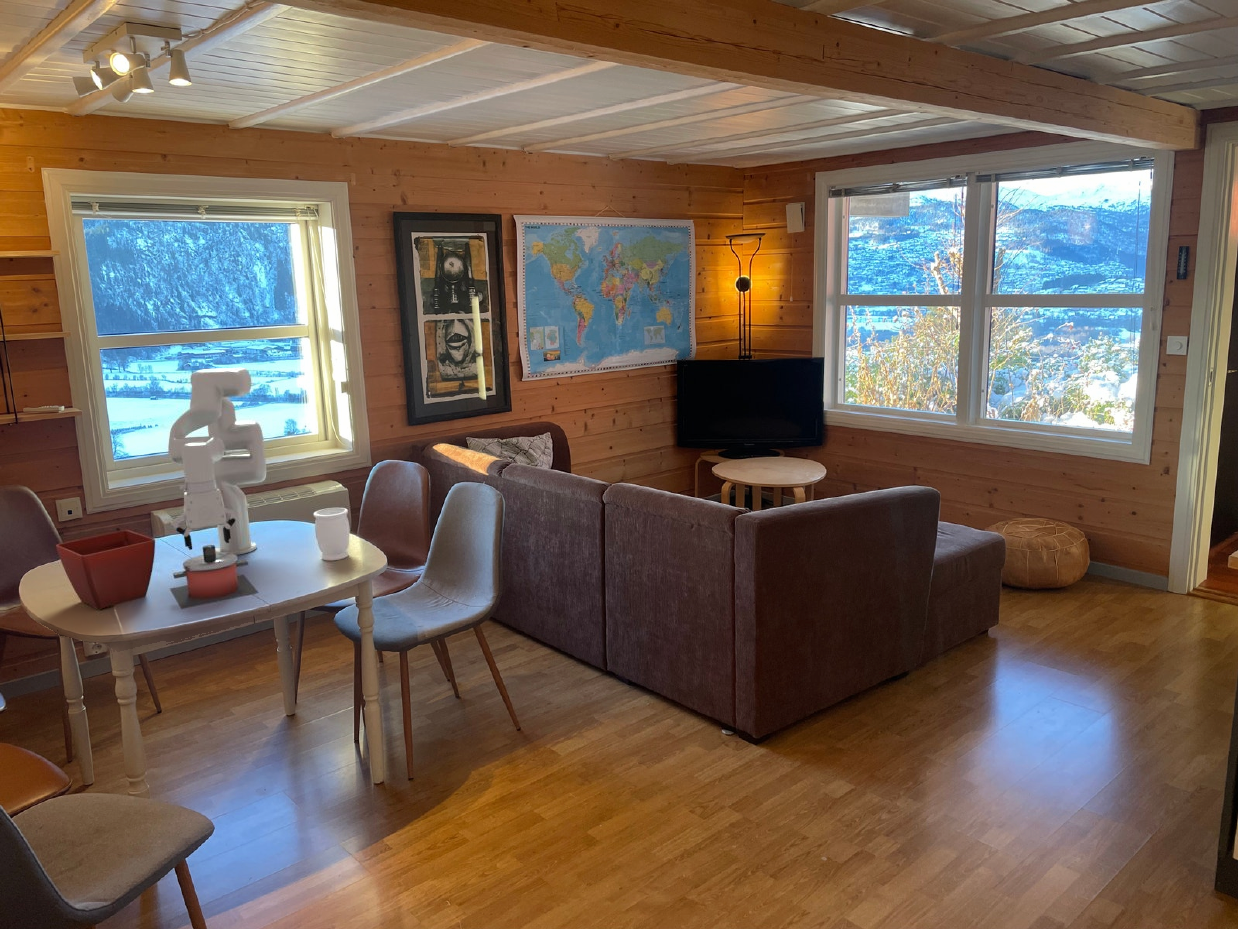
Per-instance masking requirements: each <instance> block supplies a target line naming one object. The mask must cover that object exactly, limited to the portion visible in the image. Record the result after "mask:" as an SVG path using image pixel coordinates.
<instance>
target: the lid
mask: <svg viewBox="0 0 1238 929" xmlns="http://www.w3.org/2000/svg"><path fill="white" fill-rule="evenodd" d="M215 549H216V546H215V545H214V544H209V545H208V544H207V545H204V546H202V555H198V556H197V555H196V556H193V557H191V558H189V559H187V560H184V561H183V563H182V566H183V567H182V568H183V570H184V571H186V570H187V571H193V572H202V571H212V570H218V569H222V568H226V567H229V566H231V565H233V564H235V563H236V562H237V561H238V555H235V554H231V553H216V551H215Z"/></svg>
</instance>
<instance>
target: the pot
mask: <svg viewBox="0 0 1238 929" xmlns="http://www.w3.org/2000/svg"><path fill="white" fill-rule="evenodd" d="M248 565H249V562H248V560H247V559H242V560H237V562H236V563H235V564H233V565H231V566H229V567H226V568H222V569H218V570H212V571H202V572H193V571H187V570H183V571H181V570H180V571H178V572H177V571H176V572H172V576H173V578H174V579H179V578H180V579H181V578H185V577H186V584H187V585H188V593H189V596H190V597H192V598H197V599H208V598H216V597H221V596H225V595H228V594H231V593H233V592H235V591H236V590H237V589H238V588H239V587H238V578H237V576H238V572H237V571H238V570H237V568H239V567H244V566H248Z"/></svg>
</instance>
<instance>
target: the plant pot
mask: <svg viewBox="0 0 1238 929" xmlns="http://www.w3.org/2000/svg"><path fill="white" fill-rule="evenodd" d="M55 547H56V550H57V554H58V556H59V560H60V562H61V564H62V567H63V569H64V571H65V574H66V576H67V578H68V580H69V582H70V584H71V586H72V588H73V590H74V592H75V593H76V595H77V597H78V598H79V600H80V601H81V602H82V601H83V602H82V603H84V602H85V604H86V603H87V605H88V604H89V605H88V606H90V605H91V607H92V606H93V607H92V608H94V607H95V608H94V609H96V608H97V609H96V610H101V609H100V608H104V609H106V608H105V607H107V608H109V607H108V606H111V607H115V605H119V604H122V603H126V602H131V601H133V600H136V599H140V598H144V597H146V596H147V593H148V590H149V585H150V583H151V577H152V574H153V567H154V560H155V551H156V539H155V538H153V537H149V536H146V535H143V534H140V533H138V532H135V531H132V530H129V529H124V530H119V531H115V532H108V533H104V534H100V535H94V536H90V537H85V538H82V539H76V540H75V539H74V540H71V541H70V540H69V541H66V542H63V543H62V542H61V543H58V544H56V545H55Z"/></svg>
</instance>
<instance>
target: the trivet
mask: <svg viewBox="0 0 1238 929" xmlns="http://www.w3.org/2000/svg"><path fill="white" fill-rule="evenodd" d="M237 578H238V587H239V588H238V589H237V590H236V591H235V592H233V593H231V594H228V595H225V596H221V597H216V598H208V599H197V598H192V597H190V596H189V593H188V585H182V586H176V587H171V588H169V590H170V592H171V593H172V595H173V597H174V599H175V600H176V603H177V604H178V606H179V607H180V609H182V610H183V609H187V608H192V607H197V606H202V605H207V604H211V603H216V602H222V601H226V600H231V599H235V598H240V597H241V598H242V597H246V596H251V595H255V594H259V591H258V589H257V588H256V587H254V585H253V584H252V582H250V581H249V580H248V578H247V577H246V575H244V574H239V575H238V574H237Z"/></svg>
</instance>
